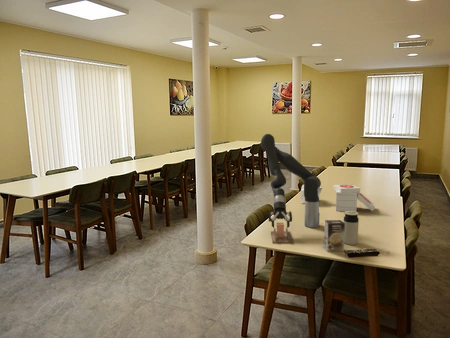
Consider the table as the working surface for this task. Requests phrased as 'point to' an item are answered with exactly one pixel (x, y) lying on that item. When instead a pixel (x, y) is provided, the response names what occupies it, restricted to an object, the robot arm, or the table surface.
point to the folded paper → (303, 194)
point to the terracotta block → (280, 230)
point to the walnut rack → (286, 238)
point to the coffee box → (334, 235)
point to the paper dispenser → (350, 198)
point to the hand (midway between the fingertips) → (280, 227)
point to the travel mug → (351, 227)
